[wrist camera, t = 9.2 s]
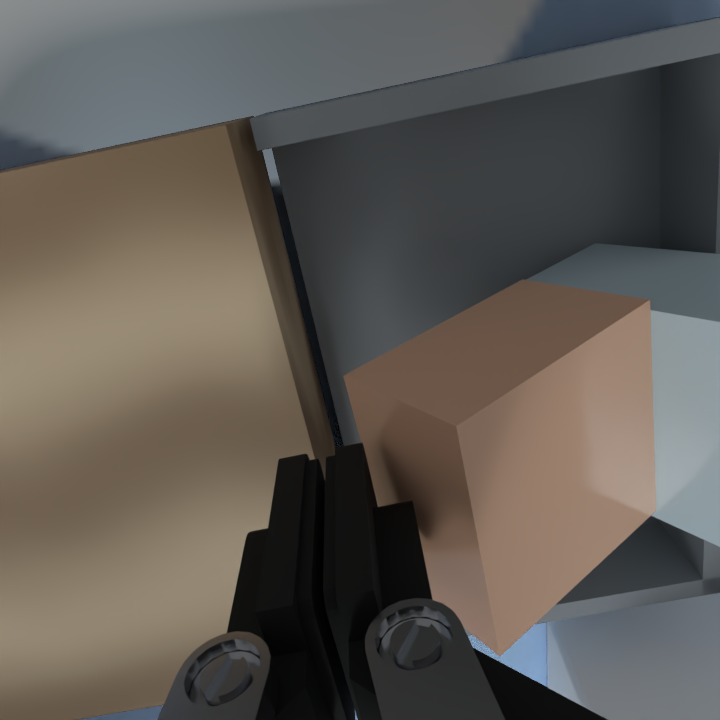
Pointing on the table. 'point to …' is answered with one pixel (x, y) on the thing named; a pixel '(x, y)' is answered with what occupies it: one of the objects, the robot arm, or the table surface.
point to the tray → (506, 216)
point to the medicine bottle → (641, 660)
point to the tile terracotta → (515, 446)
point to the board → (139, 410)
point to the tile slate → (671, 367)
